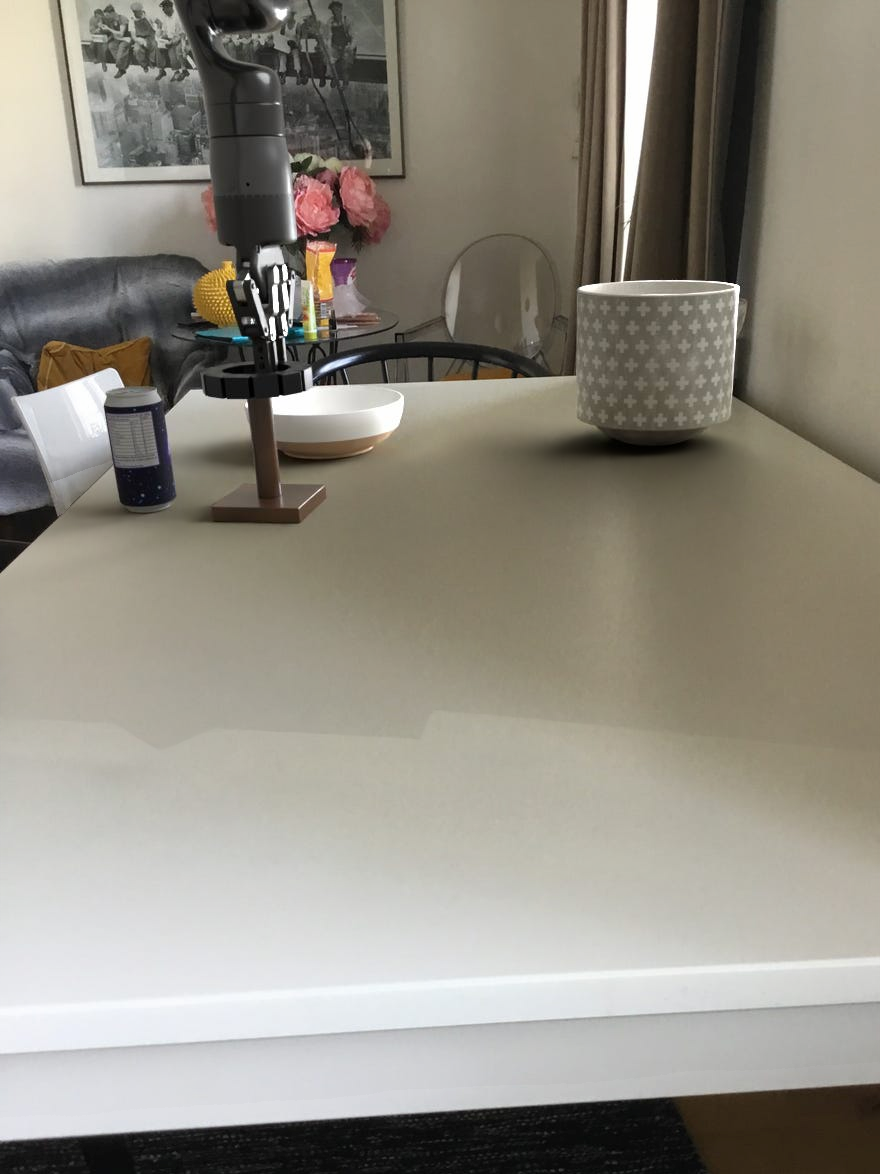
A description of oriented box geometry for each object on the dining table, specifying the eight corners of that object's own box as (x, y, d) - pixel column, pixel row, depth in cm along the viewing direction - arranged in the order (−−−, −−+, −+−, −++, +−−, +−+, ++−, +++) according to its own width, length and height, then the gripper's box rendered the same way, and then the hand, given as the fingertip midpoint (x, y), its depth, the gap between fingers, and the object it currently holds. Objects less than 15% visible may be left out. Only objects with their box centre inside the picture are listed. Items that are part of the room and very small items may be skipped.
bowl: (426, 434, 138) (423, 387, 136) (374, 470, 121) (370, 417, 119) (289, 430, 143) (285, 384, 141) (221, 464, 126) (214, 413, 124)
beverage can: (188, 505, 110) (171, 389, 105) (139, 518, 106) (119, 397, 101) (159, 496, 113) (142, 383, 108) (110, 508, 109) (90, 391, 105)
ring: (185, 399, 99) (182, 377, 98) (229, 380, 108) (226, 360, 108) (291, 399, 97) (289, 377, 96) (326, 380, 106) (324, 360, 106)
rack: (212, 521, 104) (197, 404, 100) (245, 496, 112) (232, 387, 108) (300, 523, 103) (288, 404, 98) (326, 498, 111) (316, 387, 106)
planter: (736, 456, 122) (747, 293, 115) (572, 456, 125) (573, 296, 118) (721, 423, 140) (731, 279, 133) (578, 423, 142) (579, 281, 135)
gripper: (265, 190, 93) (285, 389, 99) (313, 189, 105) (328, 366, 112) (185, 192, 94) (210, 389, 101) (241, 191, 106) (260, 367, 113)
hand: (272, 376), depth 106 cm, fingers closed on ring, 2 cm apart
